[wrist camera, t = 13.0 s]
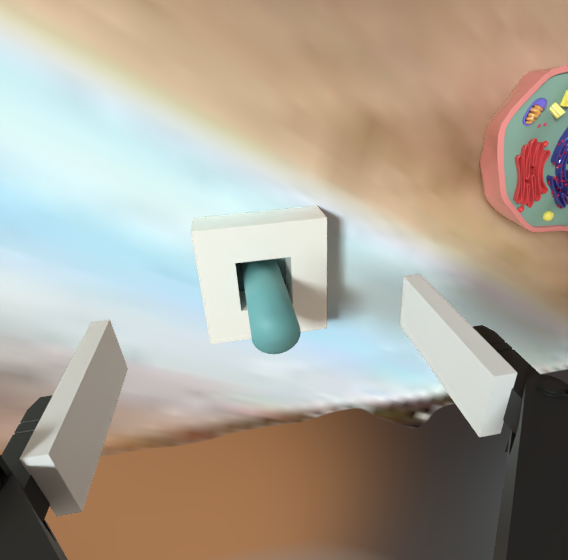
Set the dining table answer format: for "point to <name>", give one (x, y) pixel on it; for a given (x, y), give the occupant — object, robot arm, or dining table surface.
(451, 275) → the dining table surface
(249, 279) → the peg
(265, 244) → the socket block
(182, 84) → the dining table surface
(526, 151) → the cell model
